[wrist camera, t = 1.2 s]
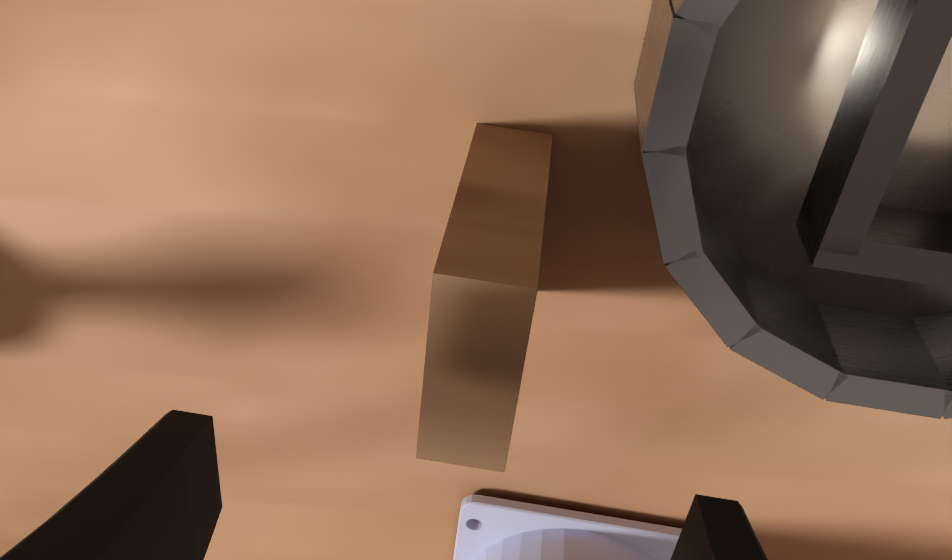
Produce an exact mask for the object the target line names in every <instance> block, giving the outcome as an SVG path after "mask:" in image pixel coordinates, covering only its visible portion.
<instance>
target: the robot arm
mask: <svg viewBox="0 0 952 560" xmlns="http://www.w3.org/2000/svg"><path fill="white" fill-rule="evenodd" d="M221 509H222V501H221V492H220V483H219V473H218V464H217V455H216V445H215V436H214V427H213V417H212V416H208V415H202V414H196V413H190V412H183V411H177V410H172V411H170V412H168V413H167V414H166V415H165V416H163V417H162V418H161V419H160V420H159V421H158V422H157V423H156V424H155V425H154V426H153V427H152V428H151V429H149V430H148V431H147V432H146V433H145V434H144V435H143V436H142V437H141V438H140V439H139V440H138V441H137V442H135V443H134V444H133V445H132V446H131V447H130V448H129V449H128V450H127V451H126V452H125V453H124V454H122V455H121V456H120V457H119V458H118V459H117V460H116V461H115V462H114V463H113V464H111V465H110V466H109V467H108V468H107V469H106V470H105V471H104V472H103V473H101V474H100V475H99V476H98V477H97V478H96V479H95V480H94V481H92V482H91V483H90V484H89V485H88V486H87V487H86V488H84V489H83V490H82V491H81V492H80V493H79V494H77V495H76V496H75V497H74V498H73V499H72V500H70V501H69V502H68V503H67V504H66V505H65V506H63V507H62V508H61V509H60V510H59V511H58V512H56V513H55V514H54V515H53V516H52V517H51V518H49V519H48V520H47V521H46V522H45V523H43V524H42V525H41V526H40V527H38V528H37V529H36V530H35V531H33V532H32V533H31V534H29V535H28V536H27V537H26V538H24V539H23V540H22V541H21V542H19V543H18V544H17V545H16V546H14V547H13V548H12V549H11V550H9V551H8V552H7V553H5V554H4V555H3V556H2V557H0V560H203V559H204V557H205V554H206V551H207V548H208V546H209V543H210V540H211V537H212V535H213V532H214V529H215V526H216V523H217V520H218V517H219V514H220V511H221ZM472 519H476V520H472ZM453 560H768V559H767V557H766V555H765V553H764V551H763V549H762V547H761V545H760V543H759V541H758V539H757V537H756V535H755V533H754V531H753V529H752V527H751V524H750V522H749V520H748V518H747V516H746V514H745V512H744V510H743V508H742V506H741V505H740V504H739V502H738V501H734V500H727V499H721V498H715V497H709V496H703V495H697V494H696V495H695V497H694V500H693V502H692V505H691V508H690V510H689V513H688V515H687V518H686V520H685V523H684V526H683V528H676V527H670V526H664V525H658V524H652V523H646V522H640V521H633V520H627V519H621V518H615V517H609V516H603V515H597V514H591V513H585V512H579V511H573V510H567V509H561V508H555V507H549V506H543V505H537V504H531V503H525V502H519V501H513V500H507V499H501V498H495V497H489V496H483V495H470V496H467V497H465V498H464V499H463V501H462V503H461V508H460V515H459V522H458V529H457V536H456V543H455V550H454V557H453Z"/></svg>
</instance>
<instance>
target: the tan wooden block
mask: <svg viewBox="0 0 952 560" xmlns="http://www.w3.org/2000/svg"><path fill="white" fill-rule="evenodd" d="M552 138H553V134H547V133H540V132H533V131H527V130H520V129H513V128H506V127H499V126H493V125H486V124H479V123H477V125H476V128H475V132H474V135H473V139H472V142H471V146H470V149H469V152H468V156H467V159H466V163H465V166H464V169H463V173H462V176H461V180H460V183H459V187H458V190H457V193H456V197H455V200H454V204H453V207H452V210H451V214H450V217H449V221H448V224H447V228H446V231H445V234H444V238H443V241H442V245H441V248H440V251H439V255H438V258H437V262H436V265H435V269H434V272H433V280H432V291H431V302H430V312H429V323H428V334H427V345H426V356H425V366H424V377H423V388H422V399H421V410H420V420H419V431H418V442H417V453H416V458H418V459H425V460H431V461H437V462H443V463H449V464H455V465H461V466H468V467H474V468H480V469H486V470H492V471H498V472H504V473H505V467H506V462H507V456H508V451H509V445H510V440H511V434H512V428H513V423H514V417H515V412H516V406H517V401H518V395H519V390H520V384H521V378H522V373H523V367H524V362H525V356H526V351H527V345H528V339H529V334H530V328H531V323H532V317H533V312H534V306H535V301H536V295H537V289H538V280H539V269H540V259H541V249H542V239H543V229H544V219H545V209H546V199H547V189H548V179H549V168H550V158H551V148H552Z"/></svg>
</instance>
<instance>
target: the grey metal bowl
mask: <svg viewBox="0 0 952 560" xmlns="http://www.w3.org/2000/svg"><path fill="white" fill-rule="evenodd" d="M634 85H635V88H634V89H635V98H636V108H637V117H638V127H639V136H640V146H641V155H642V160H643V165H644V169H645V174H646V179H647V184H648V189H649V194H650V199H651V204H652V209H653V214H654V219H655V224H656V229H657V234H658V239H659V244H660V249H661V253H662V258H663V263H665V267H666V269H667V270H668V271H669V273H670V274H671V275H672V276H673V278H674V279H675V280H676V282H677V283H678V284H679V285H680V287H681V288H682V289H683V291H684V292H685V293H686V294H687V296H688V297H689V298H690V300H691V301H692V302H693V303H694V305H695V306H696V307H697V309H698V310H699V311H700V312H701V314H702V315H703V316H704V318H705V319H706V320H707V321H708V323H709V324H710V325H711V327H712V328H713V329H714V330H715V332H716V333H717V334H718V336H719V337H720V338H721V339H722V341H723V342H724V343H725V345H726V346H727V347H730V350H732V351H734V352H736V353H737V354H739V355H741V356H743V357H745V358H747V359H749V360H750V361H752V362H754V363H756V364H758V365H760V366H762V367H763V368H765V369H767V370H769V371H771V372H773V373H774V374H776V375H778V376H780V377H782V378H784V379H786V380H787V381H789V382H791V383H793V384H795V385H797V386H799V387H800V388H802V389H804V390H806V391H808V392H810V393H812V394H813V395H815V396H817V397H819V398H821V399H824V398H826V401H831V402H837V403H844V404H850V405H856V406H863V407H869V408H875V409H882V410H888V411H894V412H900V413H907V414H913V415H919V416H926V417H932V418H938V419H941V417H942V415H943V417H944V419H948V418H952V0H653V3H652V7H651V12H650V16H649V21H648V25H647V30H646V34H645V39H644V43H643V48H642V52H641V57H640V61H639V66H638V70H637V75H636V79H635V84H634Z"/></svg>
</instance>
